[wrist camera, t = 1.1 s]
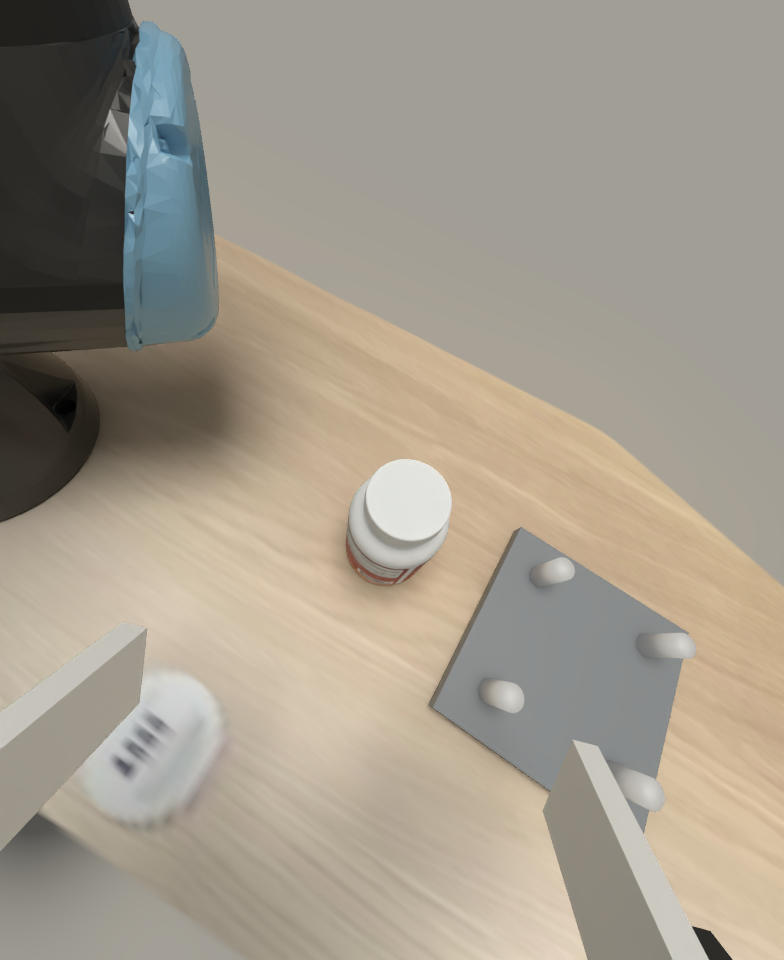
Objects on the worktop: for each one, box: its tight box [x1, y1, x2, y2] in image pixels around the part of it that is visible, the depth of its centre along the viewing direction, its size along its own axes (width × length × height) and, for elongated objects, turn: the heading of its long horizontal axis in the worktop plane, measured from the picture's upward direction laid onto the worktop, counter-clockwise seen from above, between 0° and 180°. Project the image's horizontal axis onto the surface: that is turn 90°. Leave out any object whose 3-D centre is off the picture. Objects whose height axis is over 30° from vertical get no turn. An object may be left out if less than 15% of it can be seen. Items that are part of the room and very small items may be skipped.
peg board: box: [429, 527, 696, 834], centre depth 26 cm, size 15×15×5 cm
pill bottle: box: [346, 459, 452, 586], centre depth 25 cm, size 6×6×11 cm
